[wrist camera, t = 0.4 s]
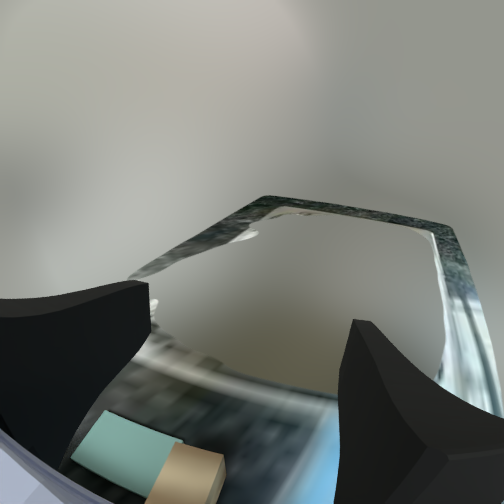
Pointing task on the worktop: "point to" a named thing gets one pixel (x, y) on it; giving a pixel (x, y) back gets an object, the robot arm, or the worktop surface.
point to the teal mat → (124, 453)
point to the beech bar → (189, 477)
